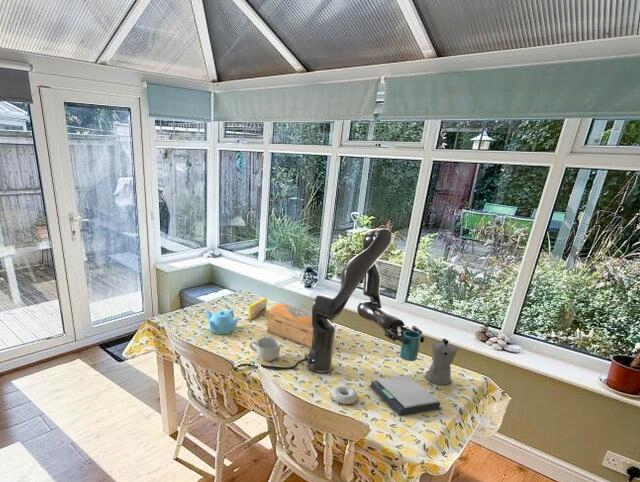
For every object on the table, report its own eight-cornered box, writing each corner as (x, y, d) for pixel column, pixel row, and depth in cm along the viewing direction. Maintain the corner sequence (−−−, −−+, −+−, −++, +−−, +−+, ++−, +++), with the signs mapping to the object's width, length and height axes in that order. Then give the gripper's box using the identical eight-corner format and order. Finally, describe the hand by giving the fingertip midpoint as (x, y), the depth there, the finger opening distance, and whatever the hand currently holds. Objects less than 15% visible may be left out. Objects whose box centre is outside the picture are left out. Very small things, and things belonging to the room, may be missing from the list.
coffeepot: (451, 389, 165) (460, 349, 158) (426, 384, 168) (434, 345, 162) (449, 371, 179) (457, 333, 172) (426, 367, 182) (433, 330, 175)
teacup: (283, 355, 190) (283, 339, 187) (274, 365, 181) (274, 349, 178) (255, 349, 195) (255, 334, 192) (245, 359, 186) (246, 343, 183)
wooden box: (333, 339, 207) (335, 313, 201) (314, 350, 195) (316, 323, 190) (286, 322, 225) (287, 298, 220) (266, 331, 214) (267, 306, 208)
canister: (406, 362, 157) (410, 338, 153) (396, 354, 163) (400, 331, 159) (420, 359, 159) (425, 336, 155) (410, 352, 164) (414, 329, 160)
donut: (352, 390, 163) (327, 391, 163) (353, 383, 162) (328, 383, 161) (360, 405, 154) (334, 406, 153) (362, 397, 153) (335, 398, 152)
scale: (399, 415, 149) (400, 408, 148) (370, 386, 166) (371, 379, 165) (439, 408, 153) (440, 401, 152) (406, 380, 171) (408, 374, 170)
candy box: (251, 320, 227) (251, 306, 224) (248, 319, 228) (248, 305, 225) (266, 311, 240) (266, 297, 237) (263, 310, 241) (263, 297, 238)
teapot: (239, 335, 210) (239, 315, 205) (209, 337, 206) (209, 317, 202) (233, 323, 223) (233, 304, 219) (206, 325, 220) (205, 306, 216)
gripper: (376, 317, 167) (400, 334, 152) (406, 314, 171) (433, 330, 156) (373, 334, 170) (397, 352, 155) (403, 330, 173) (429, 348, 159)
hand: (415, 341), depth 155 cm, fingers closed on canister, 6 cm apart
